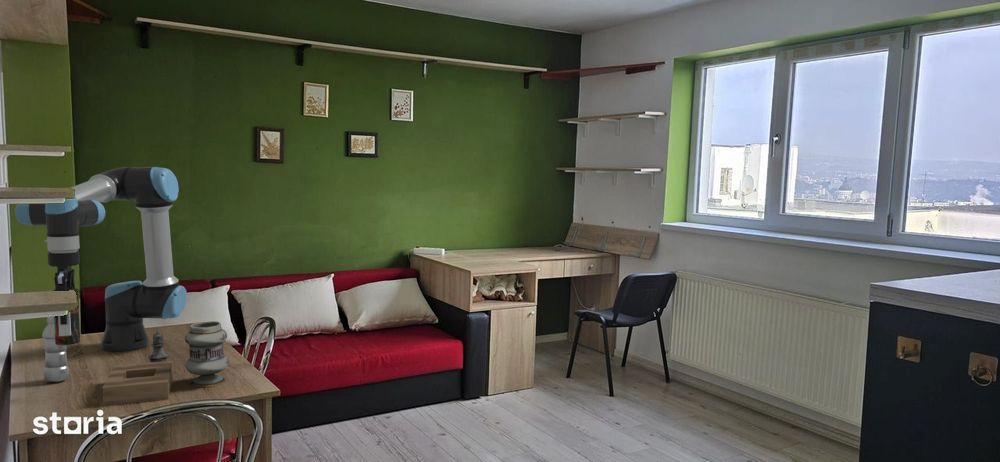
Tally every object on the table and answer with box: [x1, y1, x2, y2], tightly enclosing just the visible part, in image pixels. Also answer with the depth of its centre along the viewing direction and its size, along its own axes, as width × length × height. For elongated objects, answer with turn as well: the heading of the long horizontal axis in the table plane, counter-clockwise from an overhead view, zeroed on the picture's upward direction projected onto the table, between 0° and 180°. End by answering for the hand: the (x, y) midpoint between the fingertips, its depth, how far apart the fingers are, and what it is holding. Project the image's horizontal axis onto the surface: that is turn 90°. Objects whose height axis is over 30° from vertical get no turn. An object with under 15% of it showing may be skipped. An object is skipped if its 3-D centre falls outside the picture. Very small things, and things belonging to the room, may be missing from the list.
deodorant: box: [52, 287, 81, 346], centre depth 192 cm, size 6×6×15 cm
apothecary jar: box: [184, 320, 230, 388], centre depth 208 cm, size 12×12×18 cm
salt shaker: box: [147, 330, 169, 363], centre depth 222 cm, size 6×6×12 cm
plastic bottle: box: [41, 316, 71, 383], centre depth 205 cm, size 6×7×20 cm
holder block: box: [102, 360, 174, 406], centre depth 200 cm, size 22×16×5 cm
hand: (67, 332), depth 192 cm, fingers closed on deodorant, 6 cm apart
